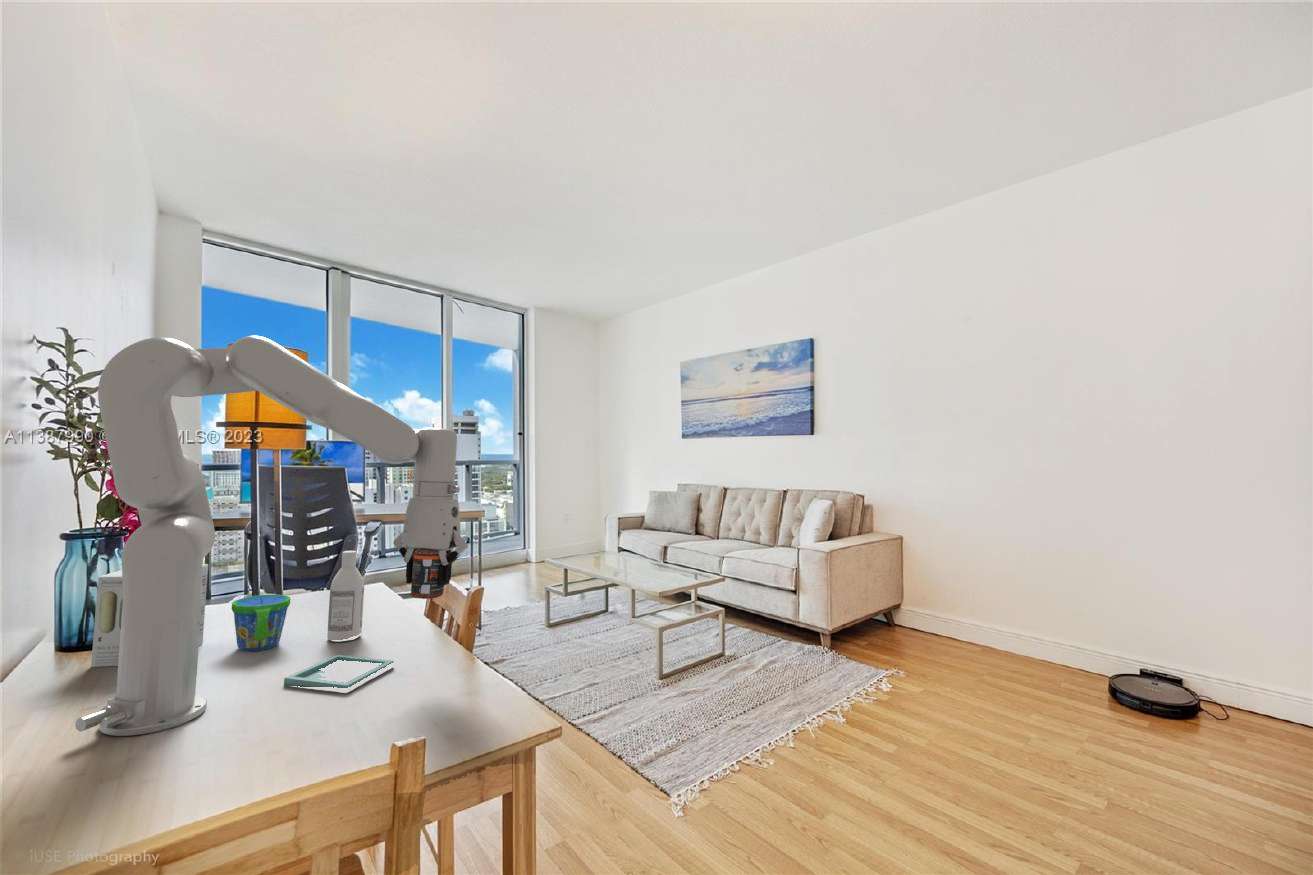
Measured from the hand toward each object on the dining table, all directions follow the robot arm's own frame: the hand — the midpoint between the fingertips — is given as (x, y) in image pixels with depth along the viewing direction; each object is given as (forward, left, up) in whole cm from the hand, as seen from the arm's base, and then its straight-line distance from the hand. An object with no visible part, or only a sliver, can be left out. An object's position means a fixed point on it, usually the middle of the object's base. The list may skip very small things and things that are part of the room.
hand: (427, 582), depth 109 cm
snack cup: (+6, +44, -18) cm, 48 cm away
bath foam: (+16, +31, -18) cm, 39 cm away
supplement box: (-4, +60, -18) cm, 63 cm away
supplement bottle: (0, 0, -3) cm, 3 cm away
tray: (-4, +15, -18) cm, 24 cm away
